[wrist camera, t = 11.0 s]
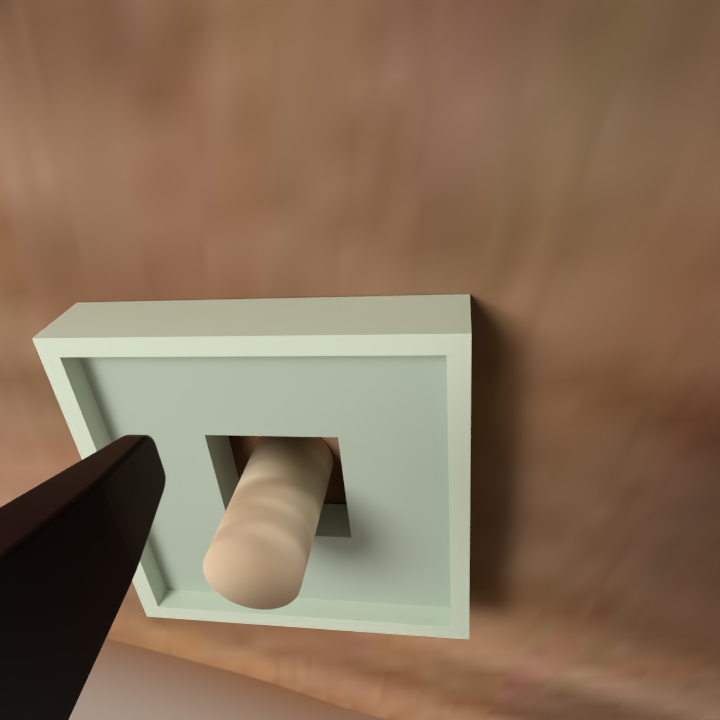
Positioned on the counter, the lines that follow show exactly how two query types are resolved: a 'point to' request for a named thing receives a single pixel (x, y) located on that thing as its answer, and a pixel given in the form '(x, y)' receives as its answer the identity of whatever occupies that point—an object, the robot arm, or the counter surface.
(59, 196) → the counter surface
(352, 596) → the box
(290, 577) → the peg
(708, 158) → the counter surface
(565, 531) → the counter surface
